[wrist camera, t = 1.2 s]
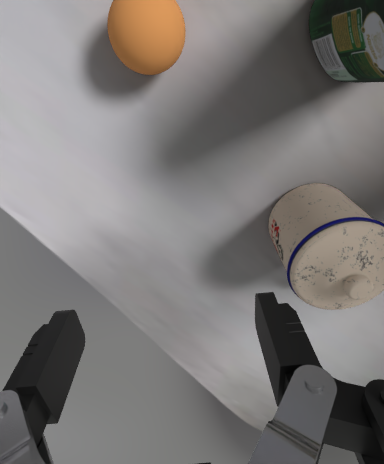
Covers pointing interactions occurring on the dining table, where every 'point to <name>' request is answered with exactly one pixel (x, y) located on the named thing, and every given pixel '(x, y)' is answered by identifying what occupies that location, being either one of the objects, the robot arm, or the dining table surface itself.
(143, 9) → the ball
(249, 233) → the dining table surface
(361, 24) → the coffee jar
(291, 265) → the teacup with lid
